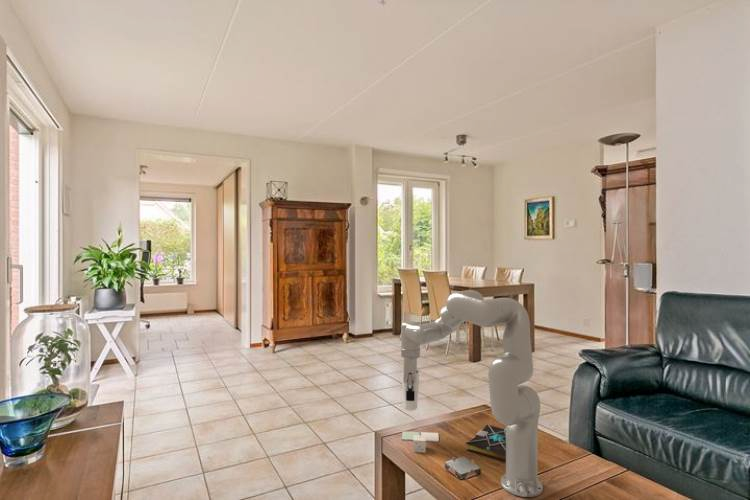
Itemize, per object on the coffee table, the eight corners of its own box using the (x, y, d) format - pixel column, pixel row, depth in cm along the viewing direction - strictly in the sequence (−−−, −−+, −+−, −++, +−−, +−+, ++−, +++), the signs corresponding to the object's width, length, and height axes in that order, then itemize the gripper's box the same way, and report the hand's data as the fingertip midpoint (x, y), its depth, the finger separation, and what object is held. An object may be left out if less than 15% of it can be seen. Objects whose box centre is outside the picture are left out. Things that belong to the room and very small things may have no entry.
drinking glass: (400, 410, 170) (400, 372, 170) (404, 404, 176) (404, 368, 176) (417, 412, 168) (417, 374, 168) (420, 406, 174) (420, 369, 174)
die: (425, 453, 159) (425, 440, 159) (413, 452, 159) (413, 440, 159) (425, 447, 163) (425, 435, 163) (413, 446, 164) (413, 434, 164)
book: (510, 465, 150) (510, 451, 150) (465, 451, 160) (465, 438, 160) (528, 442, 168) (528, 429, 168) (487, 431, 178) (487, 419, 178)
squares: (438, 441, 167) (438, 440, 167) (401, 439, 169) (401, 438, 169) (438, 433, 174) (438, 432, 174) (402, 432, 176) (402, 431, 176)
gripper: (402, 347, 181) (402, 389, 181) (399, 358, 164) (400, 405, 164) (420, 347, 180) (420, 390, 180) (419, 358, 163) (419, 405, 163)
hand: (410, 397), depth 172 cm, fingers closed on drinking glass, 6 cm apart
